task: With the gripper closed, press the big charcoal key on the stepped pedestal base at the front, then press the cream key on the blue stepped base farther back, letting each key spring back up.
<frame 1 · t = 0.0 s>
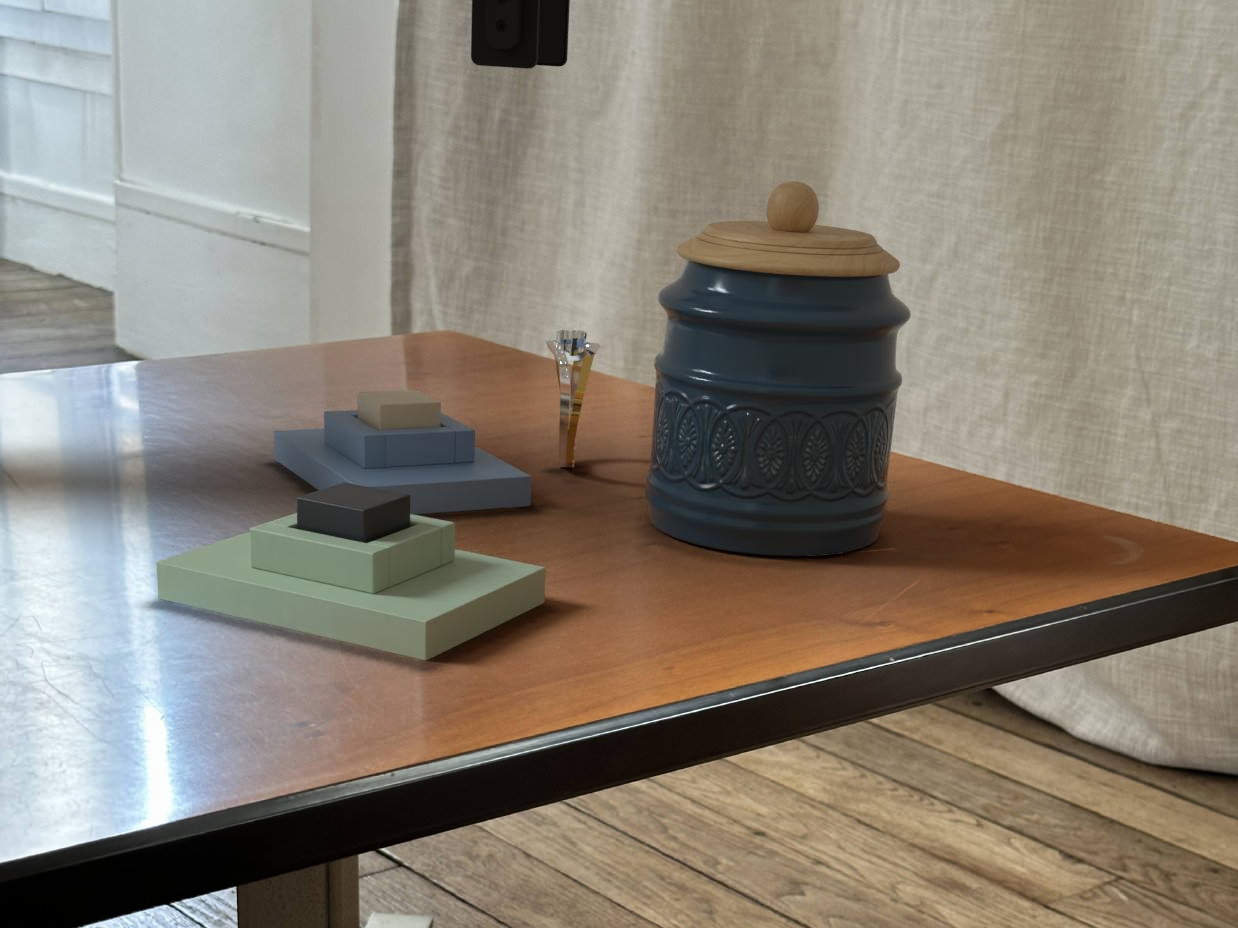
hand: (521, 65, 90), 22 cm above the table, tool pointing down, fingers open, 9 cm apart
key b: (398, 412, 98), point 4 cm above the table, slide at 0.1 cm
canister: (762, 531, 95), on the table
stepped pedestal base: (354, 601, 79), on the table
blue stepped base: (398, 482, 99), on the table
key a: (354, 515, 77), point 4 cm above the table, slide at 0.1 cm
ring: (566, 470, 105), on the table
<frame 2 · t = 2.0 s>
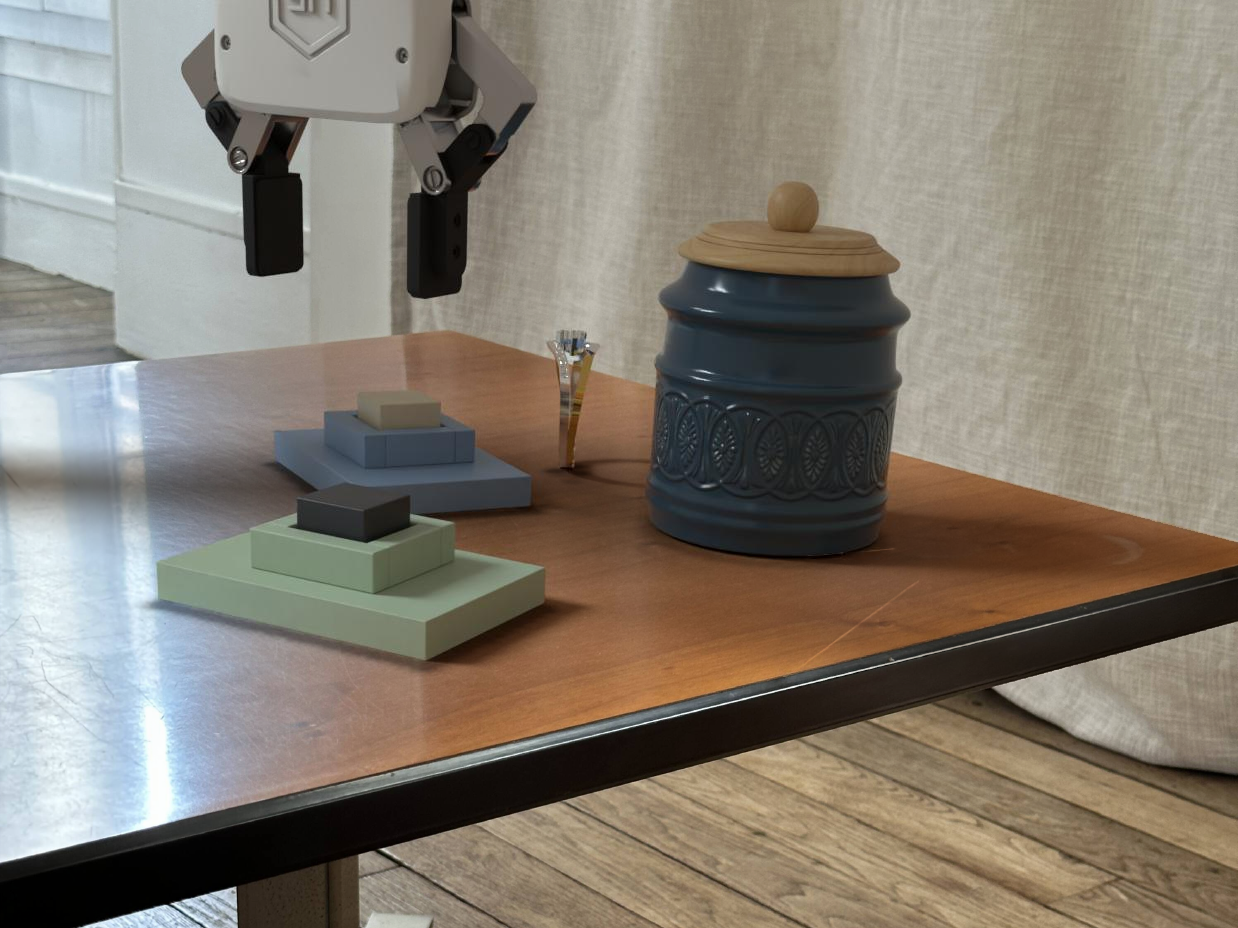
hand: (353, 281, 73), 14 cm above the table, tool pointing down, fingers open, 7 cm apart
nothing on the table moved.
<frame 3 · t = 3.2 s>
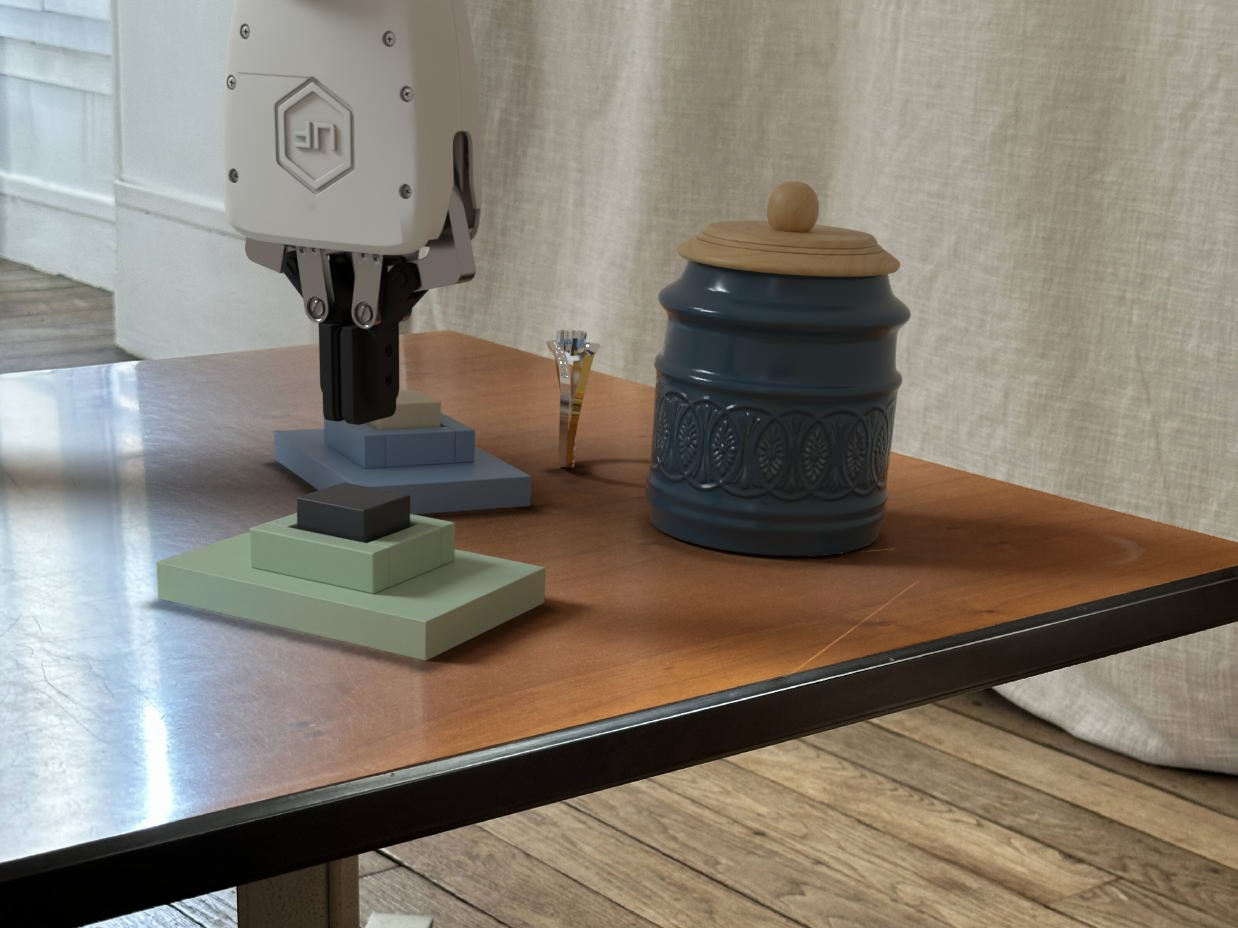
hand: (360, 416, 75), 8 cm above the table, tool pointing down, fingers closed
nothing on the table moved.
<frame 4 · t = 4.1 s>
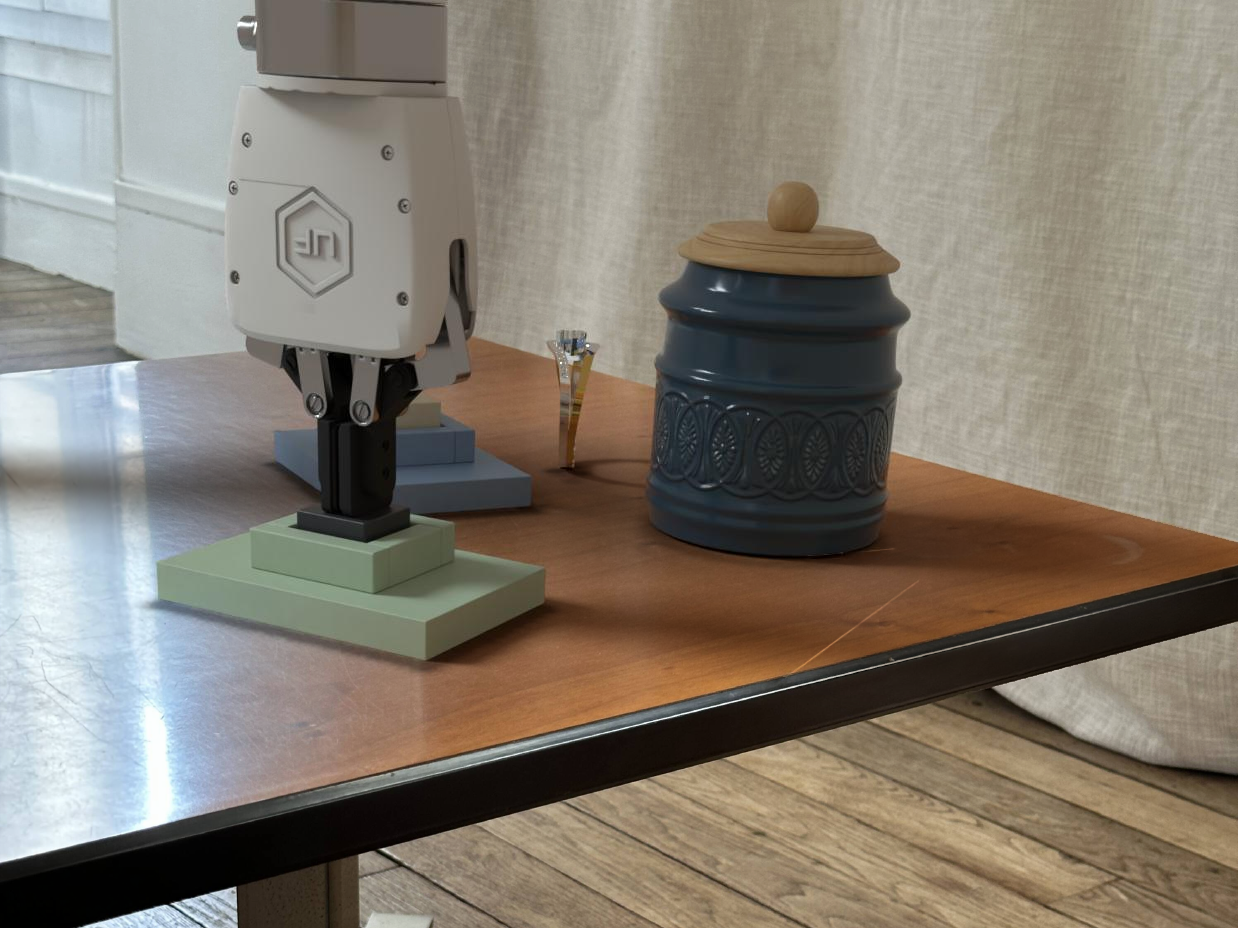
hand: (357, 507, 77), 4 cm above the table, tool pointing down, fingers closed
key a: (354, 527, 77), point 3 cm above the table, slide at -0.5 cm, touching gripper
everything else where it was.
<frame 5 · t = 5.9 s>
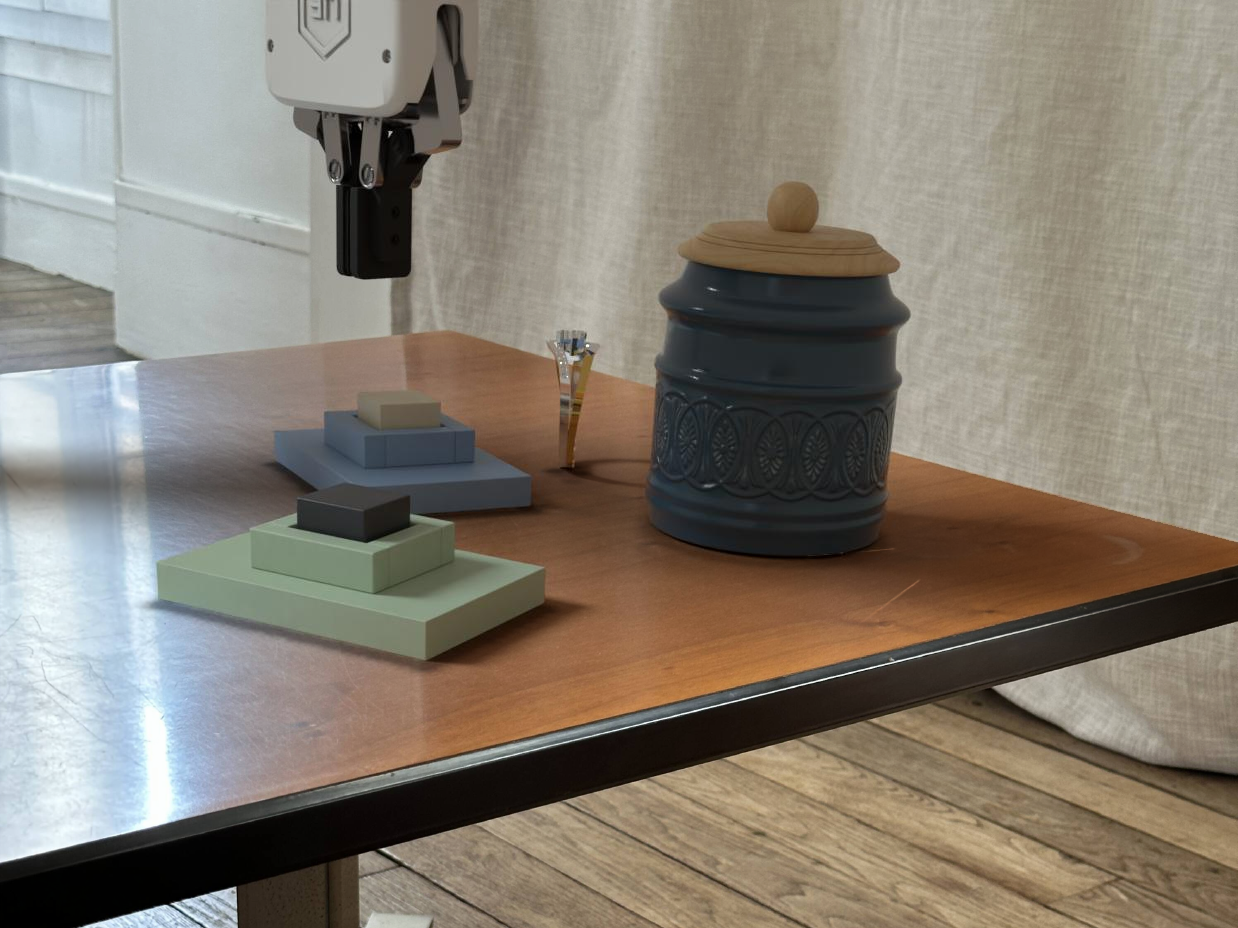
hand: (374, 274, 82), 13 cm above the table, tool pointing down, fingers closed
key a: (354, 515, 77), point 4 cm above the table, slide at 0.1 cm
everything else where it was.
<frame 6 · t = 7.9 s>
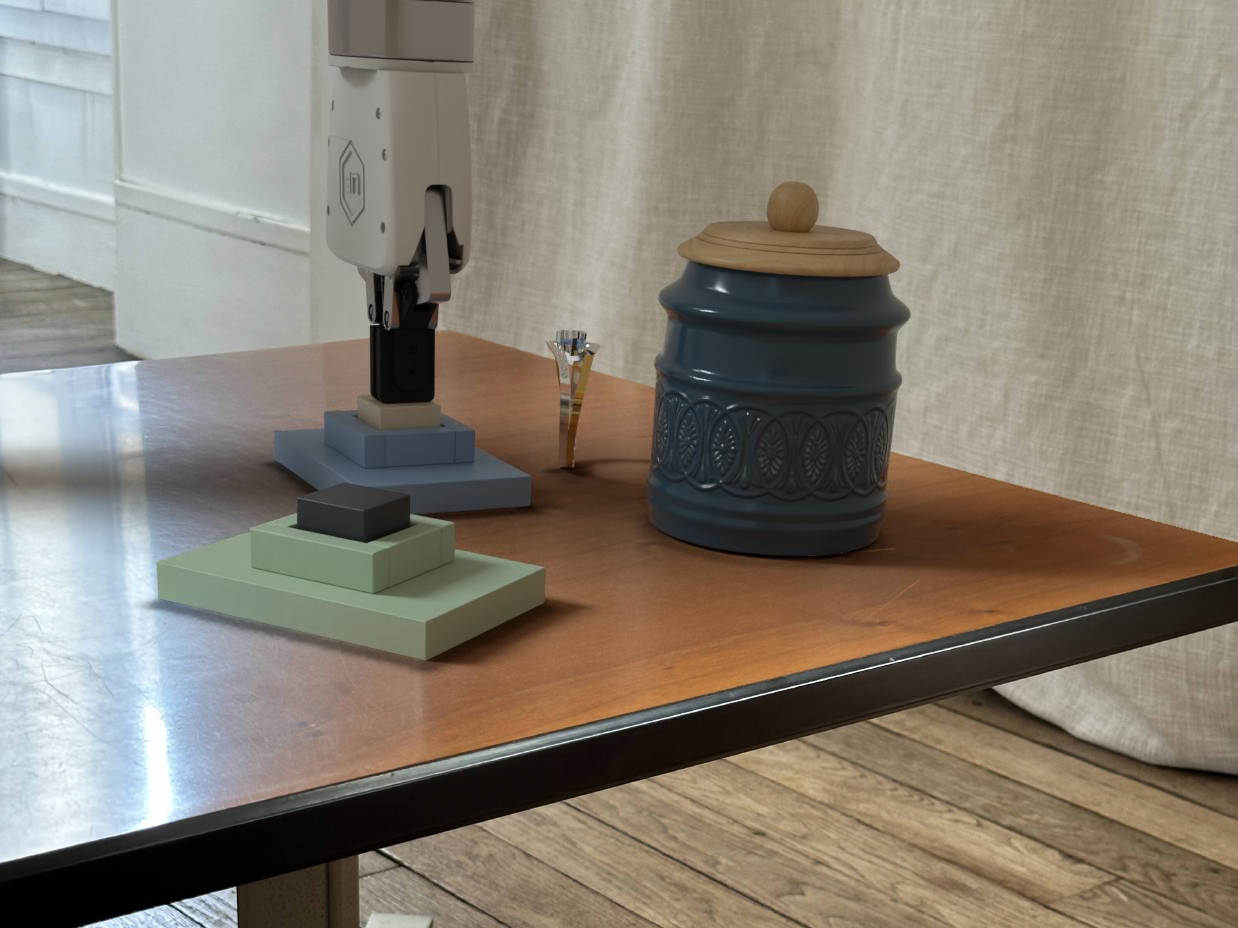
hand: (402, 399, 98), 5 cm above the table, tool pointing down, fingers closed
key b: (398, 415, 98), point 4 cm above the table, slide at -0.1 cm, touching gripper
everything else where it was.
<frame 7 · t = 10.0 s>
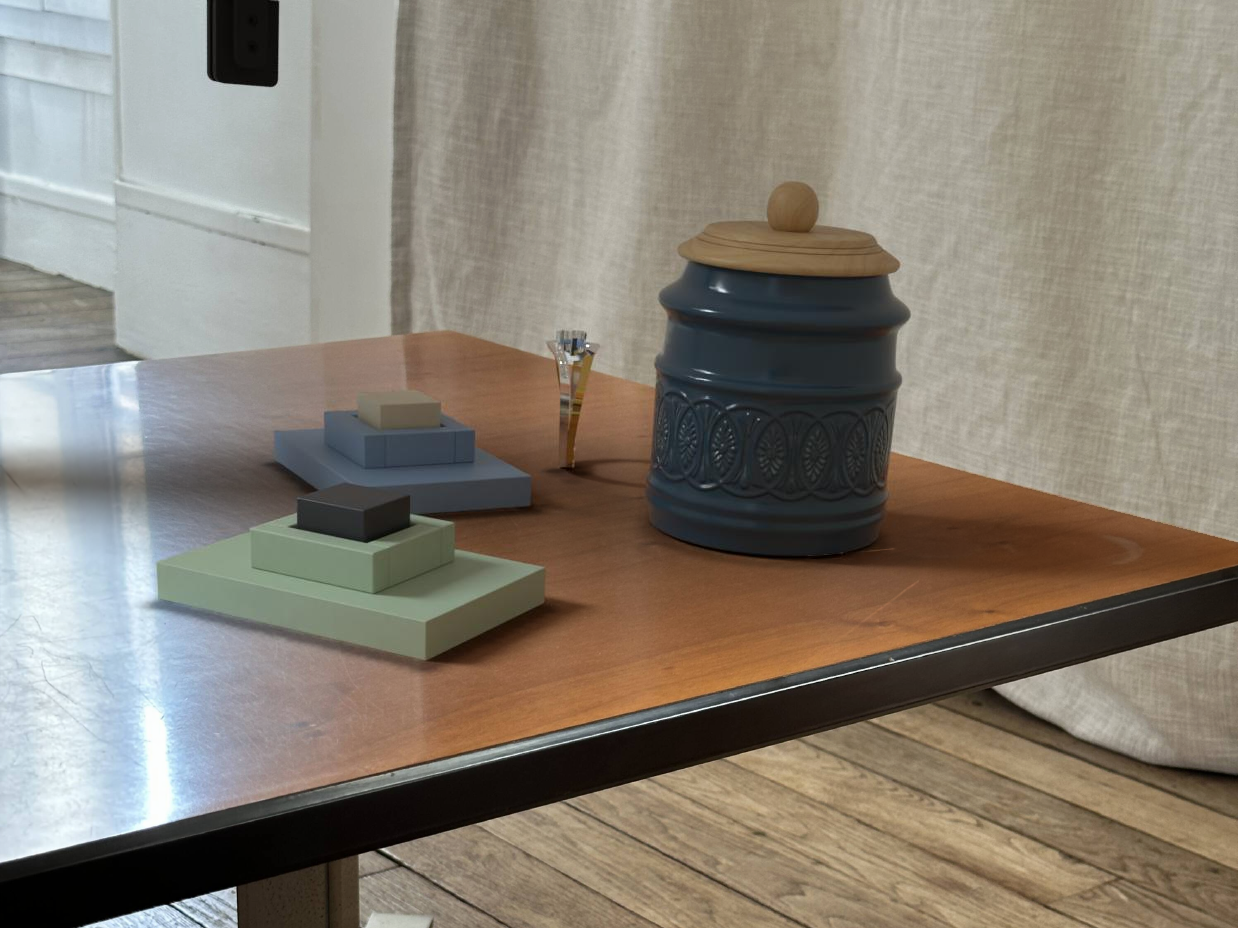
hand: (242, 82, 89), 21 cm above the table, tool pointing down, fingers closed
key b: (398, 412, 98), point 4 cm above the table, slide at 0.1 cm
everything else where it was.
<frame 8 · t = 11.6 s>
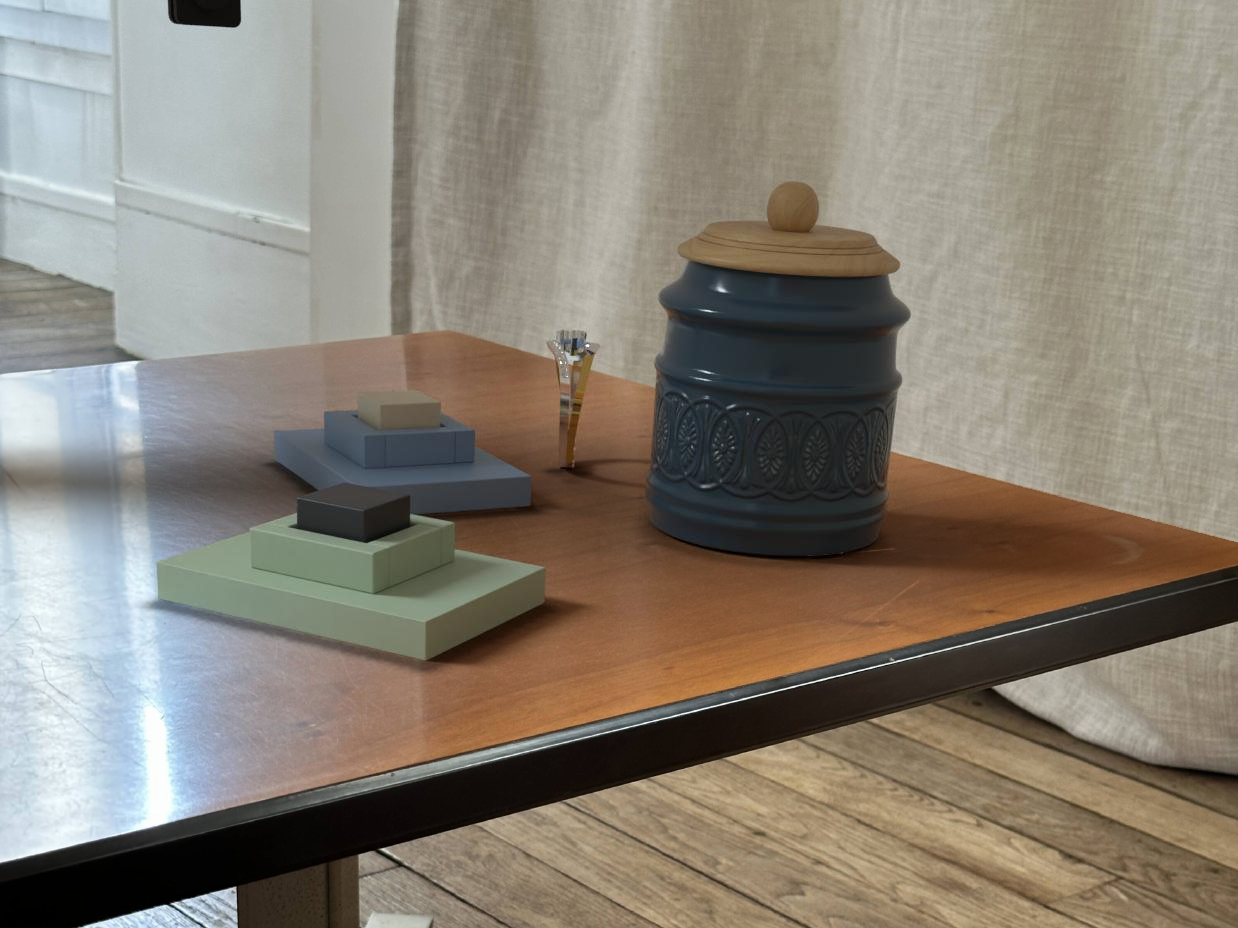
hand: (205, 24, 87), 23 cm above the table, tool pointing down, fingers closed
nothing on the table moved.
at the end: key a pushed in 1.1 cm at the most during the clip, back to where it started at the end; key b pushed in 1.1 cm at the most during the clip, back to where it started at the end; key b slide at 0.1 cm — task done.
